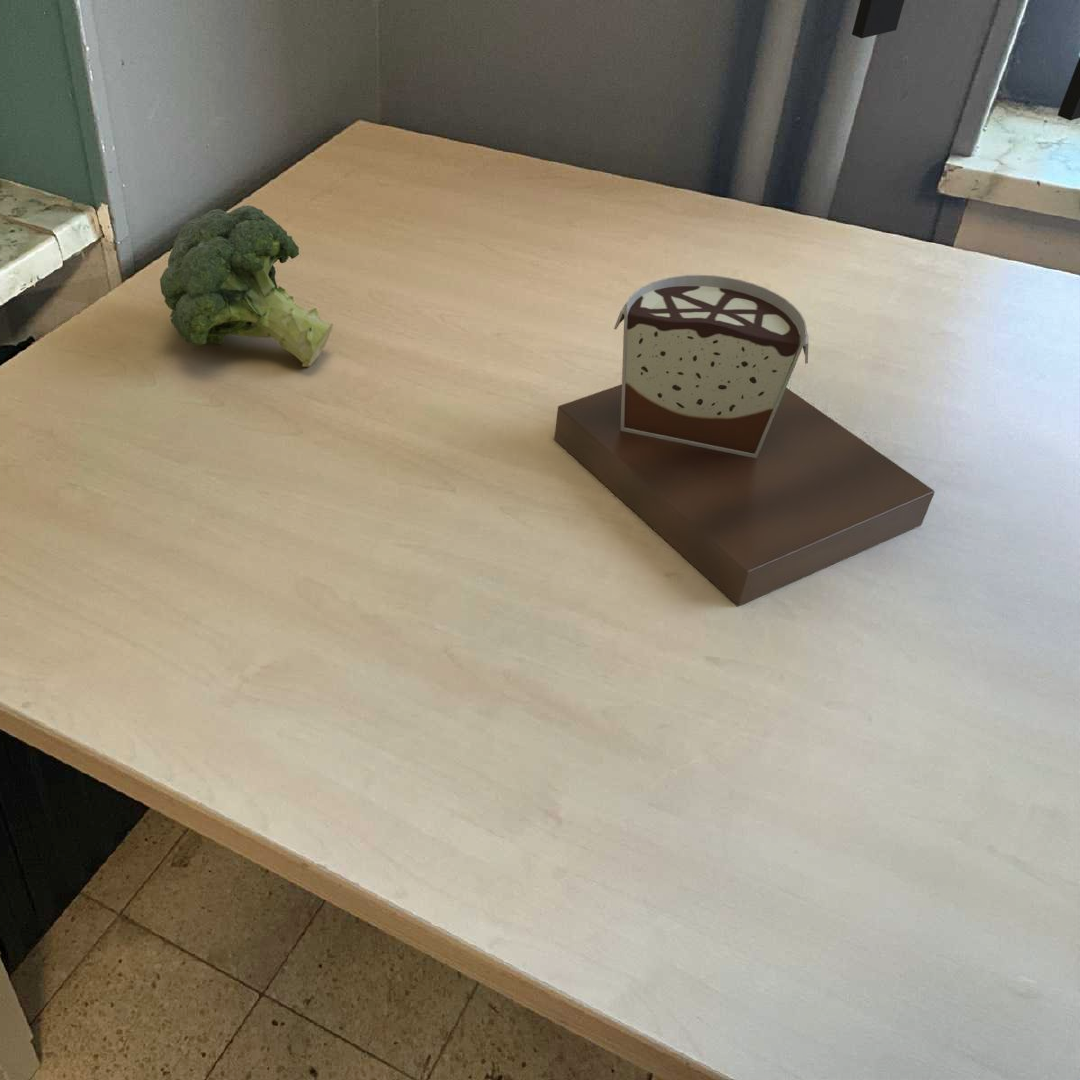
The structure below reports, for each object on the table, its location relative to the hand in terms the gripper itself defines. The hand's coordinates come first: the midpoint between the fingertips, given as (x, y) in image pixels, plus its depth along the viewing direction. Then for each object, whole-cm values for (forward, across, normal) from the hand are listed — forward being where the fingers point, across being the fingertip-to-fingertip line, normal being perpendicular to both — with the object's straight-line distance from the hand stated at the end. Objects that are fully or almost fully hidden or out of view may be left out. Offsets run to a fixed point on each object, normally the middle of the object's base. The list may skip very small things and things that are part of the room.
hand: (970, 70), depth 62 cm
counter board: (+29, -4, -6) cm, 30 cm away
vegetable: (+29, -37, -28) cm, 55 cm away
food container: (+26, -8, -6) cm, 28 cm away
